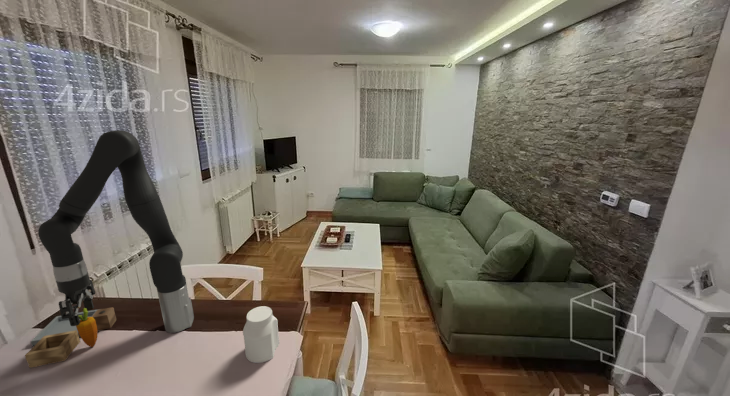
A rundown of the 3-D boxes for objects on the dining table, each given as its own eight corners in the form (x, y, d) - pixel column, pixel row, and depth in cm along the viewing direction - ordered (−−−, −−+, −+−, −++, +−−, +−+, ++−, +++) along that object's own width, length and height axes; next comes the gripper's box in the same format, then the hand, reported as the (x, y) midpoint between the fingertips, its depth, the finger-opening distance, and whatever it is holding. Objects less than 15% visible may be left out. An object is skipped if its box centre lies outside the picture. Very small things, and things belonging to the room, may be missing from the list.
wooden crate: (80, 341, 103) (76, 330, 102) (65, 360, 95) (61, 348, 94) (47, 347, 100) (43, 336, 99) (29, 367, 92) (24, 355, 91)
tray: (101, 313, 118) (100, 309, 118) (82, 337, 106) (81, 332, 105) (57, 321, 114) (56, 316, 113) (32, 346, 101) (30, 341, 100)
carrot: (90, 353, 98) (79, 316, 94) (79, 351, 99) (67, 314, 95) (105, 342, 103) (95, 307, 99) (94, 340, 104) (84, 305, 100)
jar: (256, 337, 107) (252, 302, 103) (281, 338, 106) (279, 303, 102) (242, 362, 95) (237, 324, 91) (270, 364, 95) (266, 326, 91)
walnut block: (116, 319, 115) (113, 306, 113) (110, 328, 110) (107, 314, 109) (101, 322, 113) (97, 309, 112) (94, 331, 109) (90, 317, 107)
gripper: (73, 284, 88) (85, 328, 93) (97, 263, 101) (106, 302, 105) (41, 288, 86) (55, 333, 90) (70, 266, 99) (81, 306, 103)
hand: (83, 316), depth 98 cm, fingers open, 8 cm apart
